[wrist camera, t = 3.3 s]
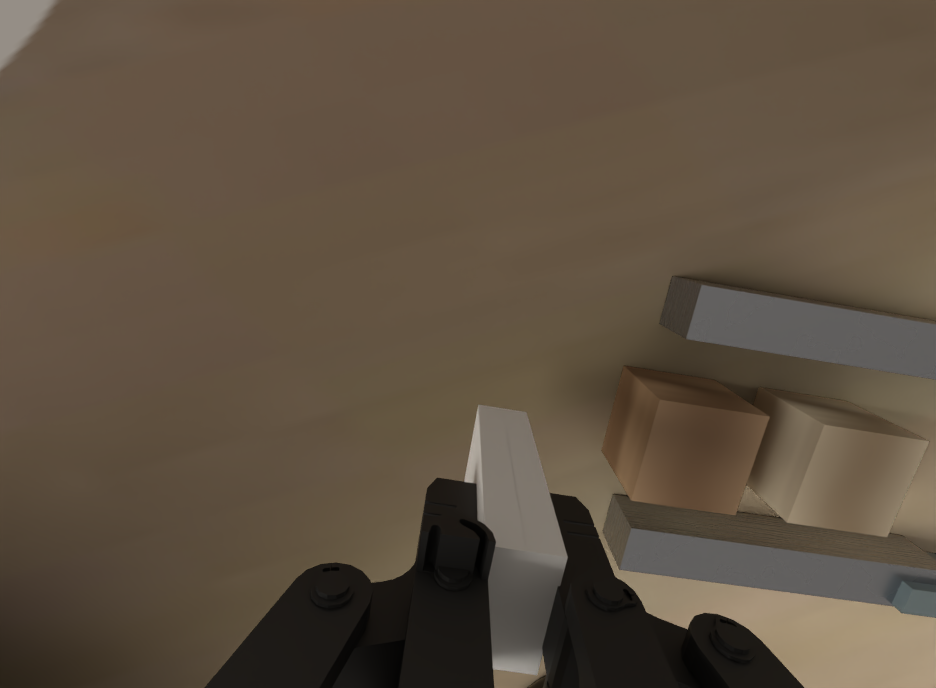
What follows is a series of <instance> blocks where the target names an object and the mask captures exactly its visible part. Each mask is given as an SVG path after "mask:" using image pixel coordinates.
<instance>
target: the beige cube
mask: <svg viewBox="0 0 936 688" xmlns="http://www.w3.org/2000/svg"><path fill="white" fill-rule="evenodd" d="M753 406H754V407H756V408H757V409H759V410H761V411H762V412H764V413H765V414H767V415H768V416H770V418H769V421H768V423H767V426H766V429H765V432H764V435H763V438H762V441H761V444H760V446H759V449H758V452H757V455H756V458H755V461H754V464H753V466H752V469H751V472H750V475H749V478H748V481H747V485H748V486H749V487H750V488H751V489H752V490H753V491H754V492H755V493H756V494H757V495H758V496H759V497H760V498H761V499H762V500H764V501H765V502H766V503H767V504H768V505H769V506H770V507H771V508H772V509H773V510H774V511H775V512H776V513H777V514H778V515H779V516H780V517H781V518H783V519H784V520H785V521H786V522H787V523H793V524H800V525H807V526H814V527H821V528H828V529H834V530H841V531H848V532H855V533H862V534H869V535H876V536H883V537H887V536H888V534H889V532H890V529H891V527H892V525H893V523H894V520H895V518H896V516H897V514H898V511H899V509H900V507H901V505H902V502H903V500H904V498H905V496H906V494H907V491H908V489H909V487H910V485H911V482H912V480H913V478H914V476H915V473H916V471H917V469H918V467H919V464H920V462H921V460H922V458H923V455H924V453H925V451H926V449H927V446H928V444H929V442H930V441H928V440H926V439H924V438H922V437H920V436H917V435H915V434H913V433H911V432H909V431H907V430H905V429H903V428H901V427H899V426H897V425H895V424H893V423H891V422H889V421H887V420H885V419H883V418H880V417H878V416H876V415H874V414H872V413H870V412H868V411H866V410H864V409H862V408H860V407H858V406H856V405H854V404H852V403H850V402H848V401H843V400H837V399H831V398H825V397H819V396H812V395H806V394H800V393H794V392H788V391H782V390H776V389H769V388H763V387H759V389H758V392H757V395H756V398H755V400H754V403H753Z"/></svg>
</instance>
